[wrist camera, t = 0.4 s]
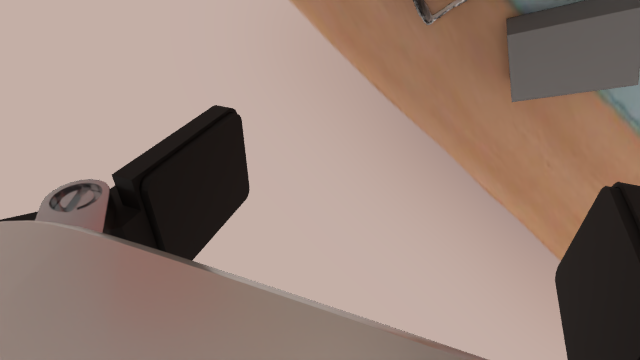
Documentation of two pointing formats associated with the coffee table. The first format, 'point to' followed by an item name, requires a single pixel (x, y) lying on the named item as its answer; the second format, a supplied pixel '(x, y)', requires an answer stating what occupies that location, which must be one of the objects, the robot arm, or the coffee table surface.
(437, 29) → the coffee table surface
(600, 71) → the grey stepped block
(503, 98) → the coffee table surface
